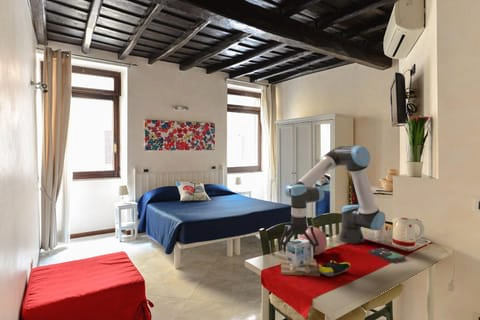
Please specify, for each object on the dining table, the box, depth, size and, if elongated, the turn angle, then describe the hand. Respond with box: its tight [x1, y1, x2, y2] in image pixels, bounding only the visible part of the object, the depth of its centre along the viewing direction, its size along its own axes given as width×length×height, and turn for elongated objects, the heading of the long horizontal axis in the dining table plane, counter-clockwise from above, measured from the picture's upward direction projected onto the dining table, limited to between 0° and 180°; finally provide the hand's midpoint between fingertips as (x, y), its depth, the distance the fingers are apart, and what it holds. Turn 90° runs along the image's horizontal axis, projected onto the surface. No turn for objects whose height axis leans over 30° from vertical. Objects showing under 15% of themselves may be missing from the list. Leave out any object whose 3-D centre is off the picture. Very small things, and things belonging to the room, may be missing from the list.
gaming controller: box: [318, 260, 351, 277], centre depth 131 cm, size 15×6×10 cm
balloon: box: [298, 226, 328, 256], centre depth 158 cm, size 15×20×15 cm
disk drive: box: [368, 247, 406, 264], centre depth 153 cm, size 10×3×15 cm
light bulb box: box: [286, 238, 311, 267], centre depth 139 cm, size 11×7×11 cm, turn 123°
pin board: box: [280, 257, 321, 277], centre depth 139 cm, size 18×18×4 cm
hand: (299, 258), depth 139 cm, fingers closed on light bulb box, 12 cm apart
